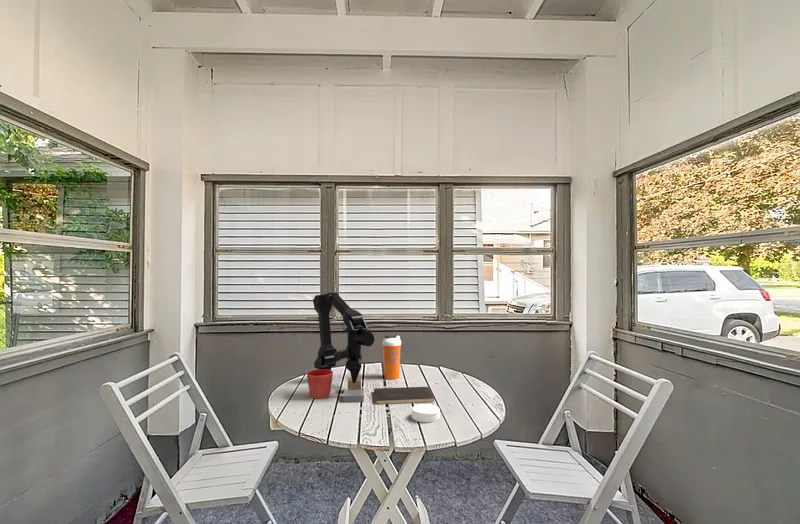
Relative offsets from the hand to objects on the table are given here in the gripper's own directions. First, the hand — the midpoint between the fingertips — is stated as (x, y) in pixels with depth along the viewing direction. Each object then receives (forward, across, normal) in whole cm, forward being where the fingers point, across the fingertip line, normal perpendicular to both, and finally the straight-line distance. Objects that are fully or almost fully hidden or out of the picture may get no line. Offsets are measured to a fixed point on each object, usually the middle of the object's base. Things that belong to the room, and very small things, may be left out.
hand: (354, 379), depth 190 cm
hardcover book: (+6, +9, +20) cm, 23 cm away
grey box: (+5, +10, 0) cm, 11 cm away
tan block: (+5, 0, 0) cm, 5 cm away
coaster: (+5, +33, +26) cm, 42 cm away
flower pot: (+5, +5, -14) cm, 16 cm away
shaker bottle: (+5, -21, +17) cm, 27 cm away
